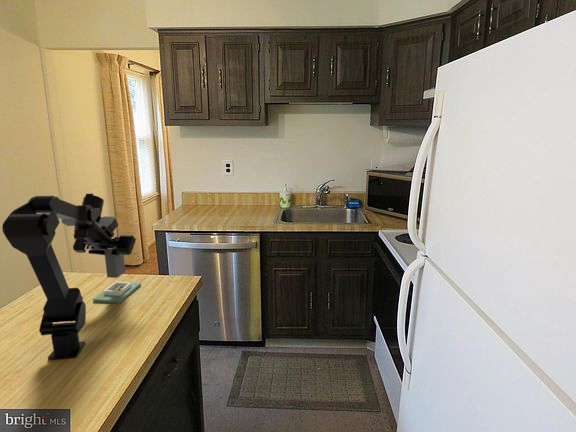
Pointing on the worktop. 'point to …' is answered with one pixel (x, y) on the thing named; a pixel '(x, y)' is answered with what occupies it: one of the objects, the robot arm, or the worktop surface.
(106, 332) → the worktop surface
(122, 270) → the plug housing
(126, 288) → the board
